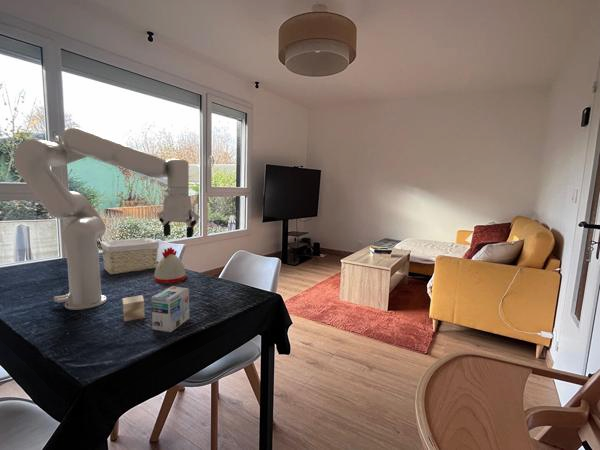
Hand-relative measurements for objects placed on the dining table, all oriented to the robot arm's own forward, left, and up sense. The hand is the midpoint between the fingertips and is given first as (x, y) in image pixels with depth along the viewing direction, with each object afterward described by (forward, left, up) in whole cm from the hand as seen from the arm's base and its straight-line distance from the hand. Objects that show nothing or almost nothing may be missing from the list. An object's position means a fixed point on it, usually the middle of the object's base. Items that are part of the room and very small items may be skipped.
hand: (178, 236), depth 117 cm
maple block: (-17, -11, -25) cm, 32 cm away
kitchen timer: (+1, +27, -25) cm, 37 cm away
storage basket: (-13, +53, -25) cm, 60 cm away
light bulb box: (-7, -23, -25) cm, 35 cm away
